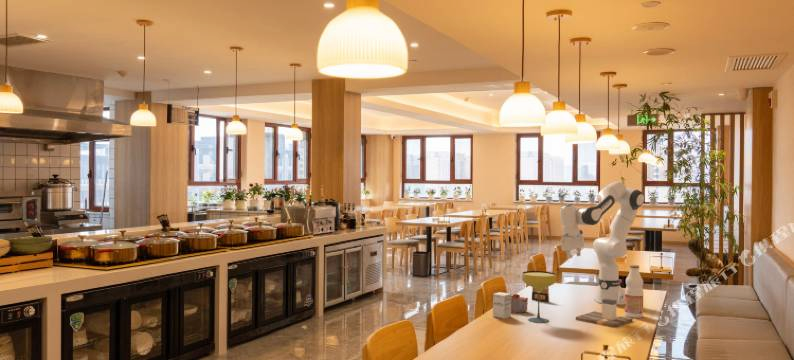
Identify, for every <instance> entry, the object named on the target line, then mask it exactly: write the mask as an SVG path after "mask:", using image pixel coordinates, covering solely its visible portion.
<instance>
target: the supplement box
mask: <svg viewBox="0 0 794 360" xmlns="http://www.w3.org/2000/svg"><path fill="white" fill-rule="evenodd" d="M492 296H493V297H492V298H493V300H492V317H495V318H498V319H503V320H504V319H507V318H508V319H509V318H511V316H512V312H511V296H512V293H508V292H501V291H498V292H496V293H495V292H494V293H493V295H492Z"/></svg>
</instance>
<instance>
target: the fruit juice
mask: <svg viewBox="0 0 794 360" xmlns="http://www.w3.org/2000/svg"><path fill="white" fill-rule="evenodd" d="M629 269H630V270H629V273H628V275H627V276H626V278H625V285H626V286H625V290H624V291H625V304H624V317H627V318H634V319H638V318H639V319H641V318H643V316H644V288H643V285H644V279H643V278H642V275H641V273H640V265H637V264H630V266H629Z"/></svg>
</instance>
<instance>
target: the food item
mask: <svg viewBox="0 0 794 360" xmlns="http://www.w3.org/2000/svg"><path fill="white" fill-rule="evenodd" d="M528 302H529V297H524V296H521V294H517V293H515V294H512V295H511V313H519V312H520V314H521V313H522V314H524V313H526V312H527V311H528Z"/></svg>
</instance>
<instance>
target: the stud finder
mask: <svg viewBox="0 0 794 360" xmlns="http://www.w3.org/2000/svg"><path fill="white" fill-rule="evenodd" d="M601 313H602V318H604V319H609V320H615V319H616V315H617V300H612V299H602V303H601Z"/></svg>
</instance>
